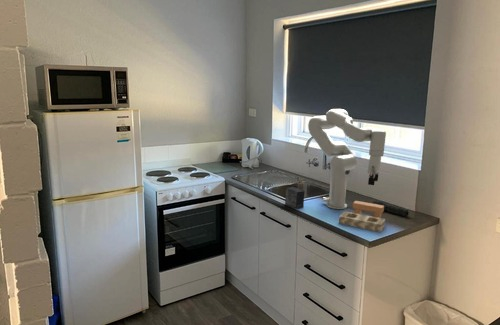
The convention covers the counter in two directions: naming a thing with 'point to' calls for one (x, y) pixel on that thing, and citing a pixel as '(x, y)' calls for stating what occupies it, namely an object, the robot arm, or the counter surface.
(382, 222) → the slotted tan block
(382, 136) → the robot arm
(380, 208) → the tan wedge board
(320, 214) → the counter surface
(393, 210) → the flashlight
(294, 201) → the small box
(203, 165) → the counter surface
